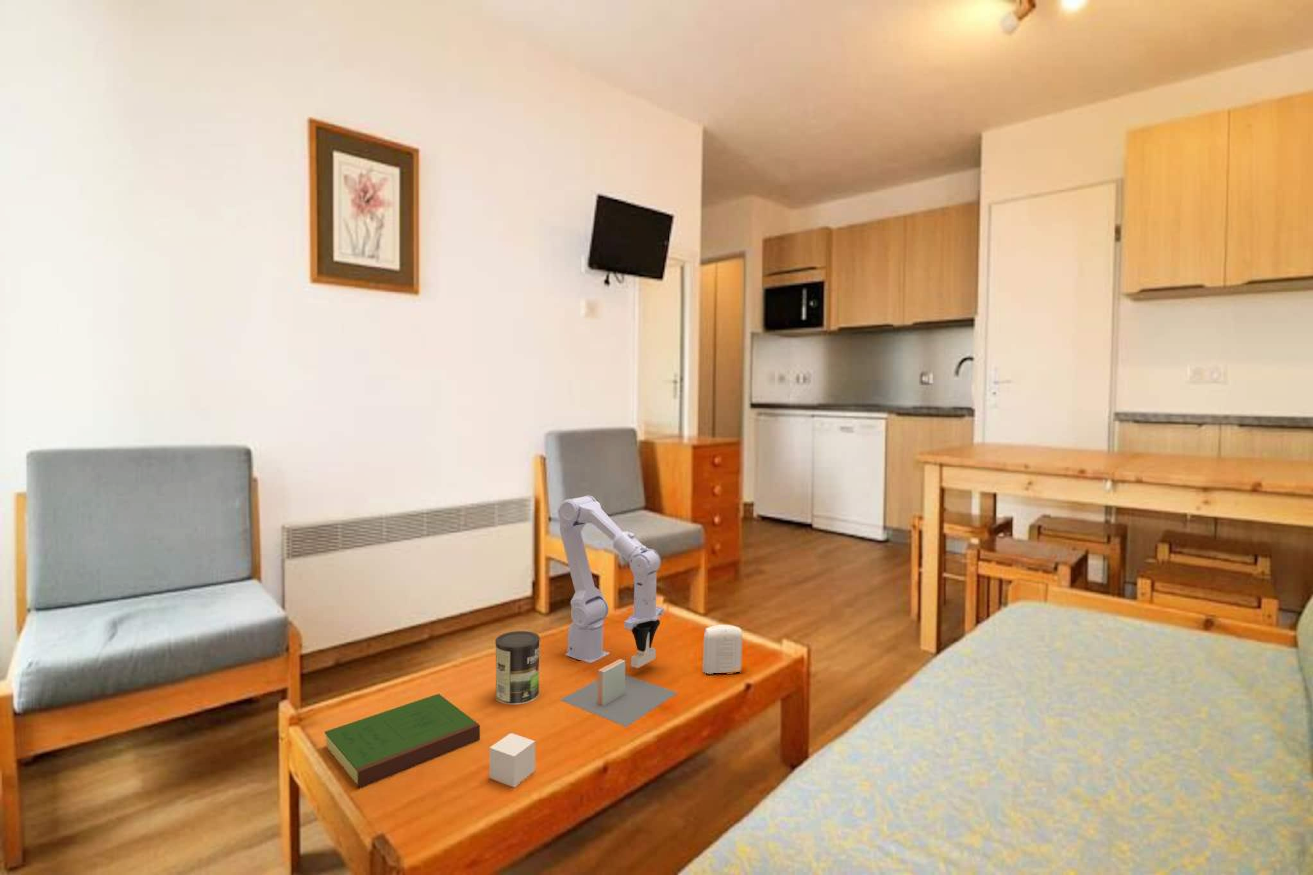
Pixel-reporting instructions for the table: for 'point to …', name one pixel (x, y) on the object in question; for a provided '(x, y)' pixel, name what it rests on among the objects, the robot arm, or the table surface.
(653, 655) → the beige t-shaped block
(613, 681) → the tile
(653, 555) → the robot arm
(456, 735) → the hardcover book
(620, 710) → the mat
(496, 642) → the coffee can
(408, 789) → the table surface
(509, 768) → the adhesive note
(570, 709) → the table surface
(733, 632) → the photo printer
